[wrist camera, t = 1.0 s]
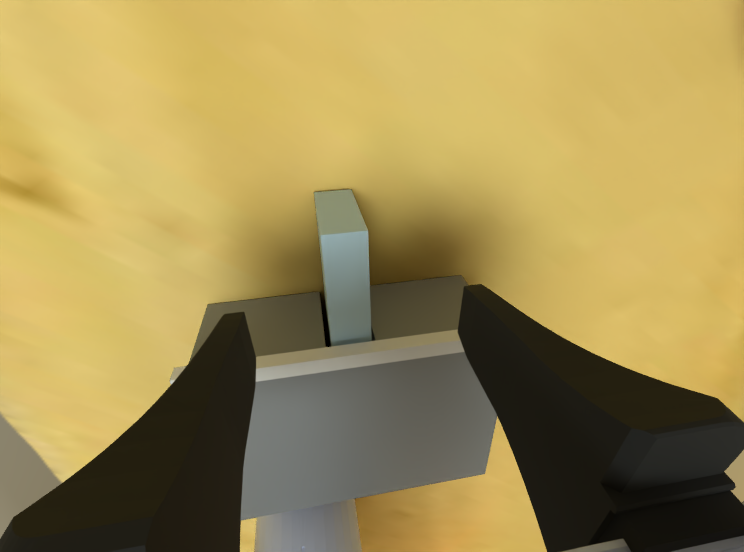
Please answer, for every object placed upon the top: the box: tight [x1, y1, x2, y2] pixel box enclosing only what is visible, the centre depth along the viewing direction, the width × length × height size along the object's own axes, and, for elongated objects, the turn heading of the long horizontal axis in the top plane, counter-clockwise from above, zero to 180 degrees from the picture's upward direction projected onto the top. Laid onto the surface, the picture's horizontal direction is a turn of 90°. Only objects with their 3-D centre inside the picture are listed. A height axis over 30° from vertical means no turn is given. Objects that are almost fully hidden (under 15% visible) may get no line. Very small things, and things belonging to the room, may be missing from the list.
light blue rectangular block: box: [314, 189, 372, 347], centre depth 22 cm, size 14×2×6 cm, turn 1°
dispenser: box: [170, 275, 497, 520], centre depth 24 cm, size 12×16×7 cm
